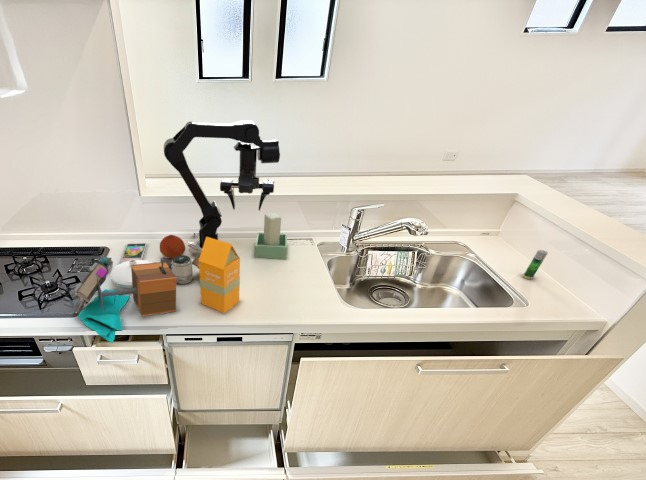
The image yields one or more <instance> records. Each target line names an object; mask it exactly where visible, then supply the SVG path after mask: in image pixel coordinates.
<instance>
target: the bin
mask: <svg viewBox="0 0 646 480" xmlns="http://www.w3.org/2000/svg"><path fill="white" fill-rule="evenodd" d="M263 243H264V232H257V234H256V239H255V245H254V246H255V247H254V248H255V249H254V258H261V259H276V260H277V259H278V260H279V259H280V260H286V259H287V254H288V253H287V252H288V233H280V242H279V246H266V245H263Z"/></svg>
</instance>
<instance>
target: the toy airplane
mask: <svg viewBox="0 0 646 480" xmlns="http://www.w3.org/2000/svg"><path fill="white" fill-rule="evenodd" d="M187 242H189V244H187V246H188V247H189V248H190V249H191V248H196V249H197V250H198V252H201V251H202V248H200V247H199V245H198V244H197V245H196V243H195V242H193V241H190V240H188V241H187Z"/></svg>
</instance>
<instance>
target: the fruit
mask: <svg viewBox="0 0 646 480" xmlns="http://www.w3.org/2000/svg"><path fill="white" fill-rule="evenodd" d="M185 251H186V244H185V242H184V240H183V239H182V238H181V237H179V236H177V235H175V234H169V235H166V236H164V237H163V238H162V239H161V241H160V242H159V252H160V254H161V255H162V256H163V257H164V258H166V259H173V258H174V257H176V256H180V255H184V253H185Z"/></svg>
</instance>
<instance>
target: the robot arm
mask: <svg viewBox="0 0 646 480" xmlns="http://www.w3.org/2000/svg"><path fill="white" fill-rule="evenodd" d="M195 138H206V139H207V138H208V139H209V138H210V139H229V140H234V141H236V144H235V145H234V146H233V149H234V151H236V152H239V167H238V168H239V169H238V170H239V172H238V173H239V174H238V178H237V181H234V179H233V178H225V177H223V178H222V179H221V181H220V183H219V191H220V192H223V193H224V194H226V195H227V196H228V198H229V201H230V204H231V206H232V209H233V211H234V210H235V209H236V200H235V197H236V196H235V189H238V193H239V194H248V195H249V194H253V192H254V190H261V192H260V197H259V203H258V212H259V211H261V208H262V205H263V204H264V203H263V202H264V200H265V198H266V197H267V196H269V195H270V194H273V193H274V191H275V181H274V179H263V180H262V182H260V177H258V176H257V160H258V161H260V164H277V163H279V162H280V158H281V152H280V145H279V143H280V142H279V141H278V140H277V139H272V140H263V139H262V138H261V136H260V130H259V127H258V126H257V125H256V123H254V121H252V120H249V119H245V120H239V121H235V122H231V123H219V122H217V123H216V122H194V121H192V120H191V121H187V122H186V123H185V125H184V126H183V127H182V128H181V129H180V130H179V131H178V132H177V133H175V135H174V136H173V137H172V138H171V137H170V138H167V139H166V140H165V142H164V144H163V155H164V157H165V159H166V160H167V161H168V163H170V165H171V166H172V167H173V168H174V169H175V170H176V171H177V172H178V173H179V175H180V177H181V178H182V180H183V181H184V183H185V185H186V187H187V189H188V190H189V191H190V193H191V195H192V197H193V198H194V200H195V202H196V204H197V205H198V207H199V208H200V210H201V214H202V217H201V218H200V219H199V220H198V224H199V231H198V233H199V234H198V238H199V240H198V241H200V242H199V245H198V246H199V247H200V248H203V245H204V242H205V239H206V237H210V238H213V239H216V240H219V233H218V228H219V227H220V226H221V225H222V222H223V221H222V217H223V215H222V213H221V210H220V208H218V207H217V203H216V201H215V200H213V201H210V200H209V199H208V197H207V195H206V193H205V192H204V191H203V189H202V186H201V185H200V183H199V181H198V180H197V178H196V176H195V175H194V173H193V171H192V170H191V168H190V165H189V164H188V161H187V159H186V155H185V153H184V151H185V150H186V149H187V148H188V146H189V145H190V144H191V142H192V141H193V140H194V139H195ZM252 144H253V145H252Z"/></svg>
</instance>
